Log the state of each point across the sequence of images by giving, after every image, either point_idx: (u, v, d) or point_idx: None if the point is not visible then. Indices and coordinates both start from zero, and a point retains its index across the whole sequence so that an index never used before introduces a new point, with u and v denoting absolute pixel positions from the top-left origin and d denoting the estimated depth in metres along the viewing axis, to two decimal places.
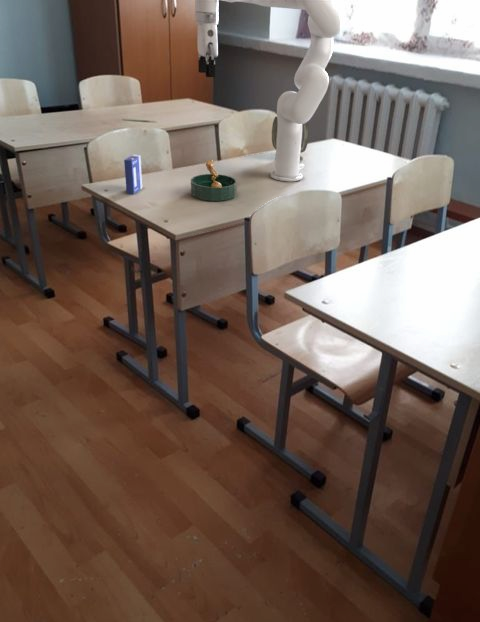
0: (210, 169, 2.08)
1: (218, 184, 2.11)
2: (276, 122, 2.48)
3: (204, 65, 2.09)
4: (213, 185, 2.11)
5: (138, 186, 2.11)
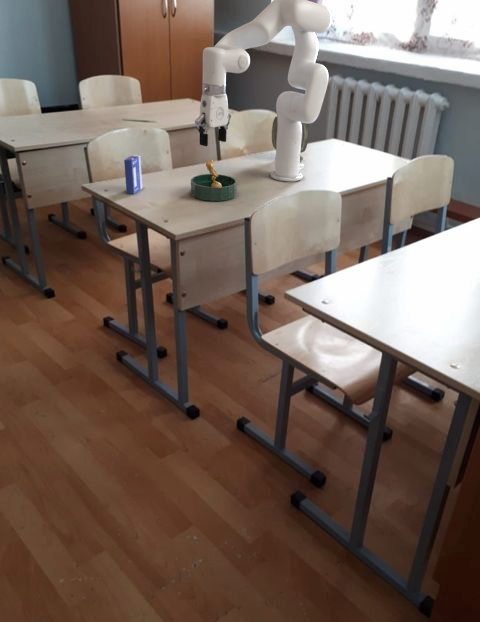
0: (210, 169, 2.08)
1: (218, 184, 2.11)
2: (276, 122, 2.48)
3: (222, 134, 2.06)
4: (213, 185, 2.11)
5: (138, 186, 2.11)
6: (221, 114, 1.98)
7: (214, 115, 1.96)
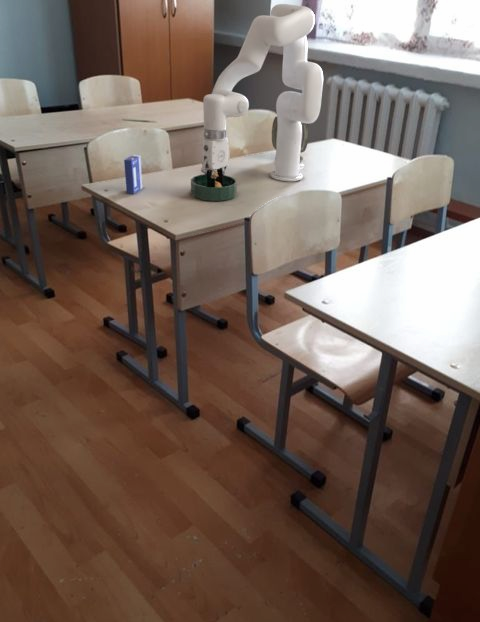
0: None
1: (218, 184, 2.11)
2: (276, 122, 2.48)
3: (219, 179, 2.13)
4: None
5: (138, 186, 2.11)
6: (222, 156, 2.06)
7: (216, 158, 2.04)
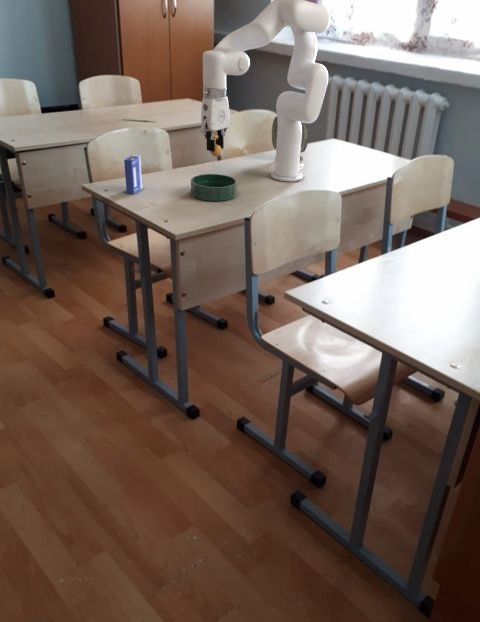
0: None
1: (218, 146, 2.04)
2: (276, 122, 2.48)
3: (219, 141, 2.05)
4: None
5: (138, 186, 2.11)
6: (222, 117, 1.99)
7: (215, 118, 1.96)
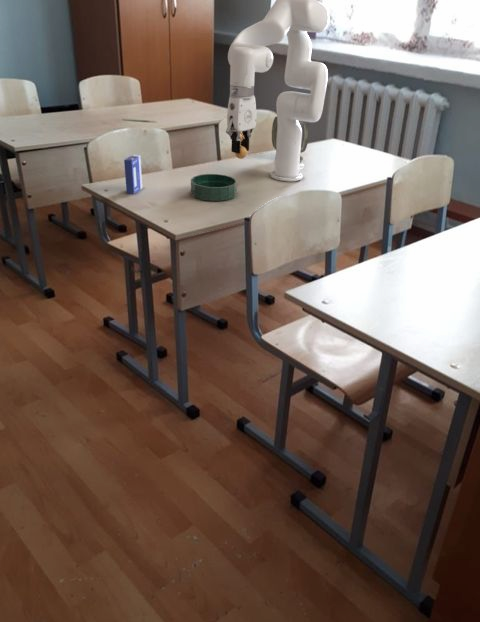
0: None
1: (243, 148, 1.94)
2: (276, 122, 2.48)
3: (245, 143, 1.96)
4: None
5: (138, 186, 2.11)
6: (249, 117, 1.89)
7: (242, 118, 1.86)
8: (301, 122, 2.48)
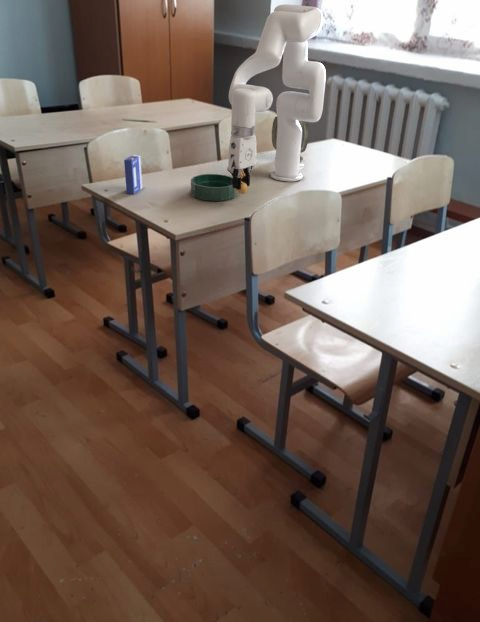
0: None
1: (244, 184, 2.00)
2: (276, 122, 2.48)
3: (245, 179, 2.01)
4: None
5: (138, 186, 2.11)
6: (250, 155, 1.95)
7: (243, 157, 1.92)
8: (301, 122, 2.48)
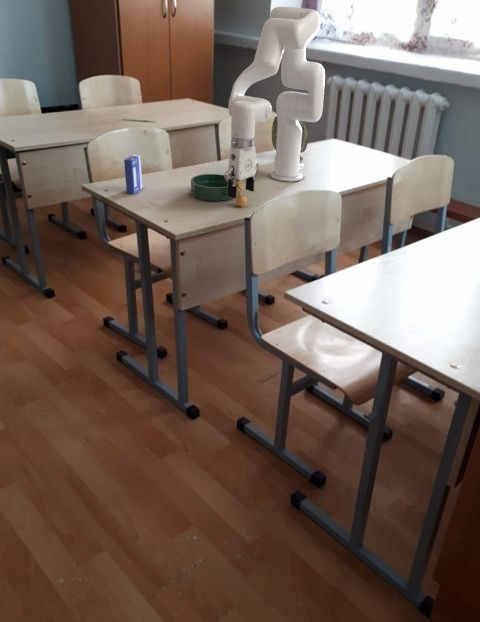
0: None
1: (243, 197, 2.02)
2: (276, 122, 2.48)
3: (250, 184, 2.04)
4: (238, 198, 2.02)
5: (138, 186, 2.11)
6: (249, 166, 1.97)
7: (243, 168, 1.94)
8: (301, 122, 2.48)
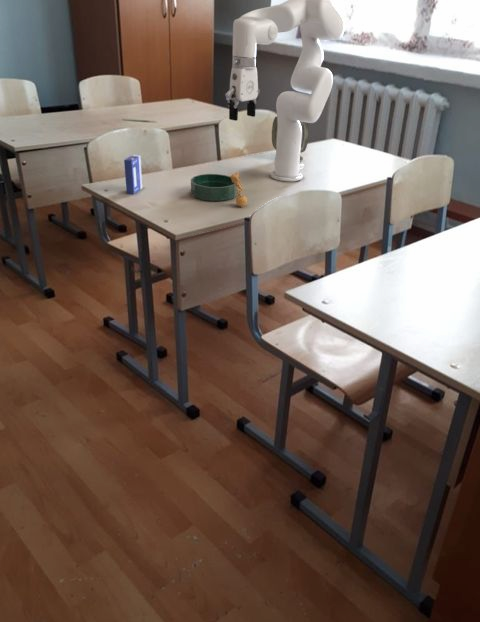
0: (235, 182, 1.98)
1: (243, 197, 2.02)
2: (276, 122, 2.48)
3: (251, 109, 2.03)
4: (238, 198, 2.02)
5: (138, 186, 2.11)
6: (251, 87, 1.96)
7: (244, 88, 1.93)
8: (301, 122, 2.48)
